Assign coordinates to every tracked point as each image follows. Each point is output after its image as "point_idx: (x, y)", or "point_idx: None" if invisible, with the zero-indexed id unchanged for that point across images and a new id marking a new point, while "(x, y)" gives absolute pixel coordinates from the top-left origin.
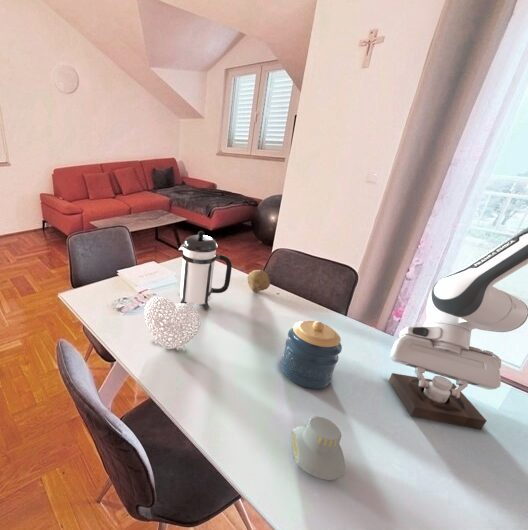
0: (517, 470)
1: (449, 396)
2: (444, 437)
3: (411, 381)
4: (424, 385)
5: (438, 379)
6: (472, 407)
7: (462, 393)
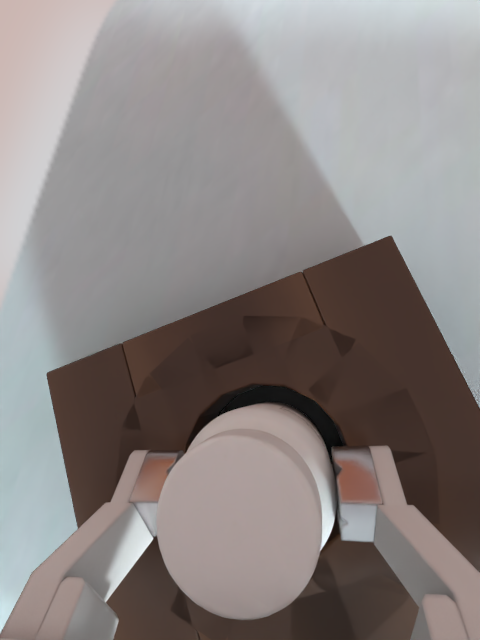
0: (43, 209)
1: None
2: (243, 214)
3: None
4: (364, 454)
5: (279, 520)
6: (80, 464)
7: None
